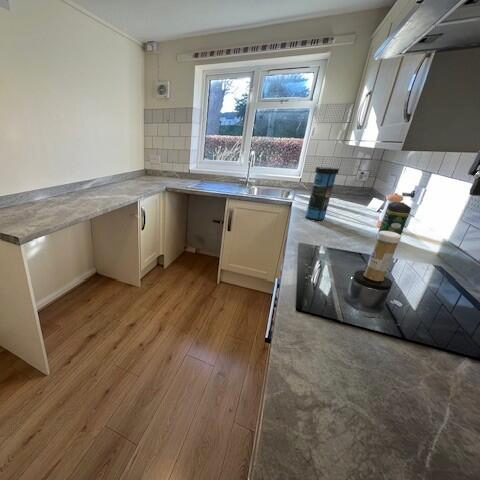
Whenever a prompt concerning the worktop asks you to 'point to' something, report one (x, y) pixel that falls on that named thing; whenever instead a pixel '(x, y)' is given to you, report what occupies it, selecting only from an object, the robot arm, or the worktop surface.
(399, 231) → the coffee jar
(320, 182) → the advertising column
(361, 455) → the worktop surface
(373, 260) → the sprinkles bottle
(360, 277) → the squat metal tin
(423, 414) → the worktop surface
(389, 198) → the pepper shaker
